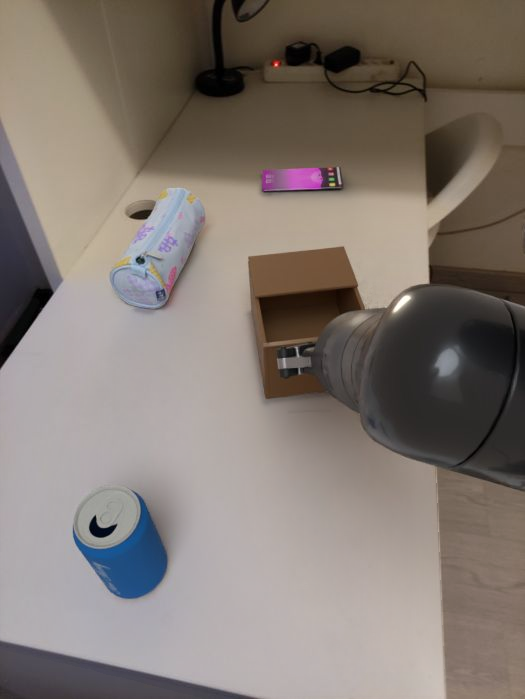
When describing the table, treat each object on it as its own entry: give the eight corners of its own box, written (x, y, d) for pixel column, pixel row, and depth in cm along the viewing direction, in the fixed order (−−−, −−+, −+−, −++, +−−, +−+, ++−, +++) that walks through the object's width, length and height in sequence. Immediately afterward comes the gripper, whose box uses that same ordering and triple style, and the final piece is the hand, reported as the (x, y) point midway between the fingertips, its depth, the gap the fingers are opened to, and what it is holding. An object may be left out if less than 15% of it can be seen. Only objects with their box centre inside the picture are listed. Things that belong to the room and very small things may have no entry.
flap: (375, 330, 61) (375, 333, 61) (263, 343, 60) (263, 346, 60) (397, 327, 53) (397, 331, 53) (268, 342, 52) (268, 346, 52)
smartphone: (342, 190, 99) (343, 186, 99) (262, 192, 100) (261, 188, 99) (340, 170, 104) (340, 166, 103) (262, 172, 105) (262, 167, 104)
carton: (366, 386, 69) (376, 330, 61) (265, 399, 68) (262, 343, 60) (338, 302, 79) (344, 245, 72) (251, 312, 79) (247, 256, 71)
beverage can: (91, 586, 53) (52, 536, 44) (125, 527, 57) (95, 471, 48) (148, 611, 51) (119, 565, 42) (179, 549, 55) (159, 494, 46)
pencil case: (168, 318, 78) (156, 267, 71) (113, 310, 80) (96, 259, 73) (211, 234, 92) (204, 184, 85) (163, 228, 93) (153, 179, 86)
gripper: (462, 298, 38) (388, 306, 55) (277, 319, 37) (260, 321, 54) (472, 402, 38) (395, 378, 56) (289, 426, 38) (269, 394, 55)
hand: (328, 350), depth 55 cm, fingers closed
